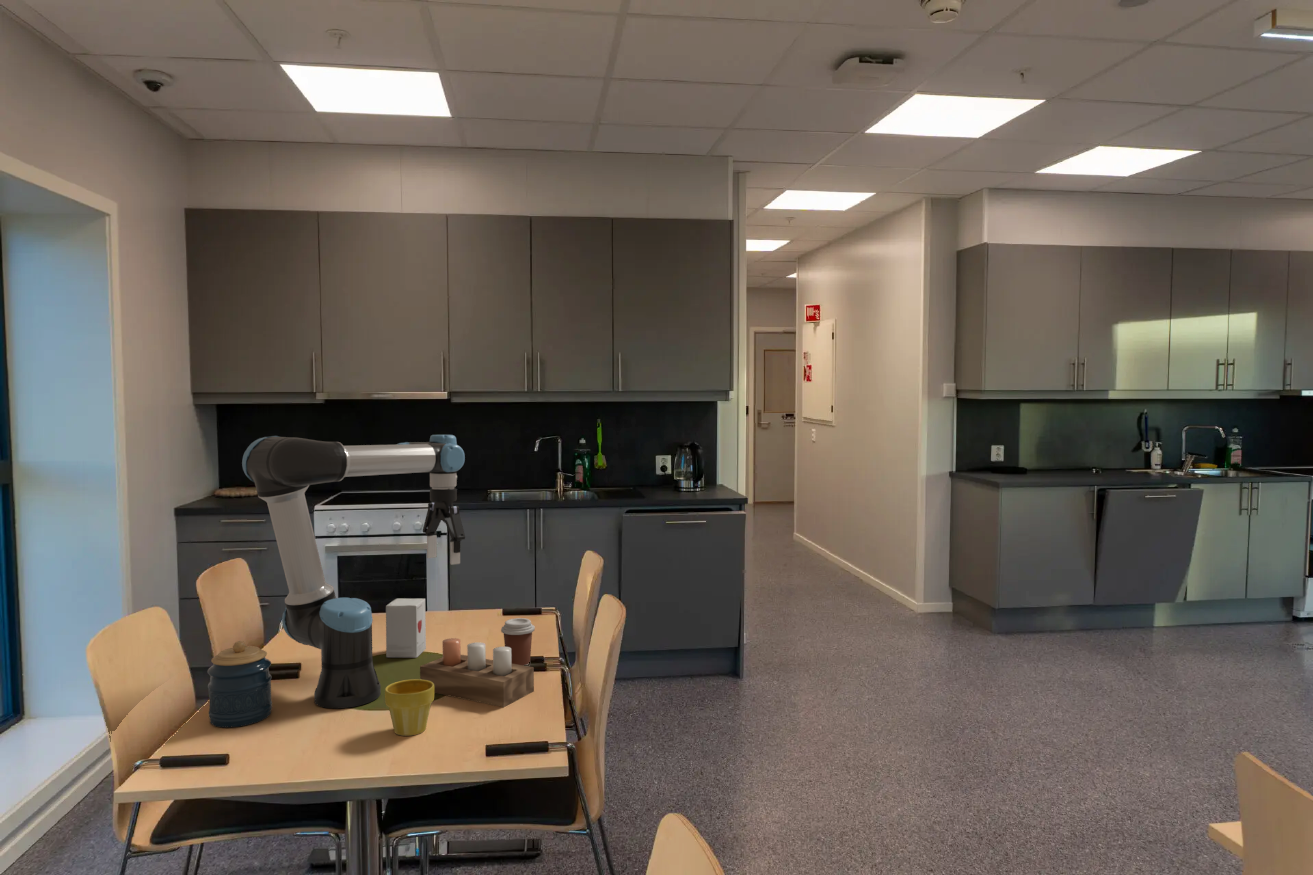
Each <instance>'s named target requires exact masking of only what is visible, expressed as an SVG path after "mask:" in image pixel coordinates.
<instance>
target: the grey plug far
mask: <svg viewBox="0 0 1313 875" xmlns="http://www.w3.org/2000/svg"><path fill="white" fill-rule="evenodd" d="M492 660H493V674H494V675H499V676H506V675H508V674H511V673H512V665H511V648H510V647H505V646H498V647H495V648H493V649H492Z"/></svg>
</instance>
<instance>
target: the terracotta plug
mask: <svg viewBox="0 0 1313 875" xmlns="http://www.w3.org/2000/svg"><path fill="white" fill-rule="evenodd" d="M461 655H462V653H461V639H460V638H456V637H455V638H452V637H451V638H447V639H446V638H445V639H444V640H442V657H443V665H446V666H451V667H454V666H456V665H458V664H461Z"/></svg>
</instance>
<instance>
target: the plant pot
mask: <svg viewBox="0 0 1313 875" xmlns="http://www.w3.org/2000/svg"><path fill="white" fill-rule="evenodd" d="M434 699H435V693H434V684H433V682H431V681H428V680H422V679H420V678H415V679H414V678H411V679H404V680H399V681H396V682H392V683H390V684H387V686H386V687H385V688H384V703H385V706H386V707H388V710H389V715H390V718H391V719H390V720H391V723H392V728H393V731H394V733H395V734H396V735H398V736H403V737H410V736H411V737H412V736H416V735H419V734H421V733H423V732H425V730H426V729H427V724H428V718H429V714H430V710H431V705H432V704H433V701H434Z"/></svg>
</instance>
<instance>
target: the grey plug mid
mask: <svg viewBox="0 0 1313 875" xmlns="http://www.w3.org/2000/svg"><path fill="white" fill-rule="evenodd" d="M466 648H467V649H466V651H467V653H466V655H467V659H468V670H472V671H481V670H483V669H485V668H486V659H487V657H486V652H487V651H486V643H484V642H480V641H479V642H476V641H475V642H471V643H468V644H467V646H466Z"/></svg>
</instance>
